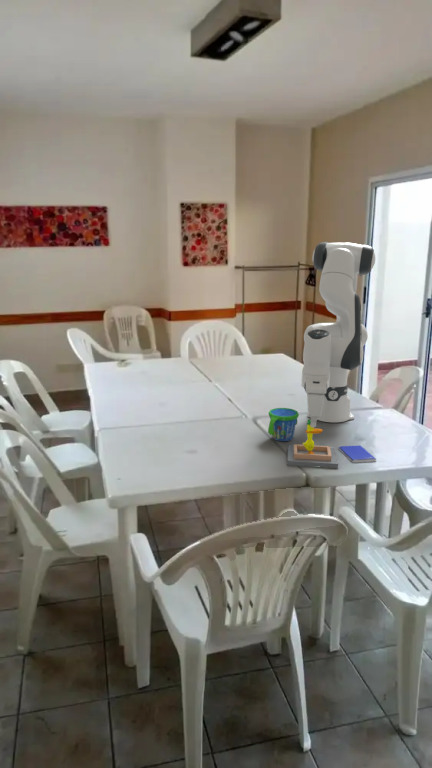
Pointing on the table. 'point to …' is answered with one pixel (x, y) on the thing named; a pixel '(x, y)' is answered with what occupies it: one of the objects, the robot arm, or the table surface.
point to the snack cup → (282, 423)
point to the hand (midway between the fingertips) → (312, 421)
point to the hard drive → (357, 454)
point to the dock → (312, 456)
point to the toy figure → (310, 437)
